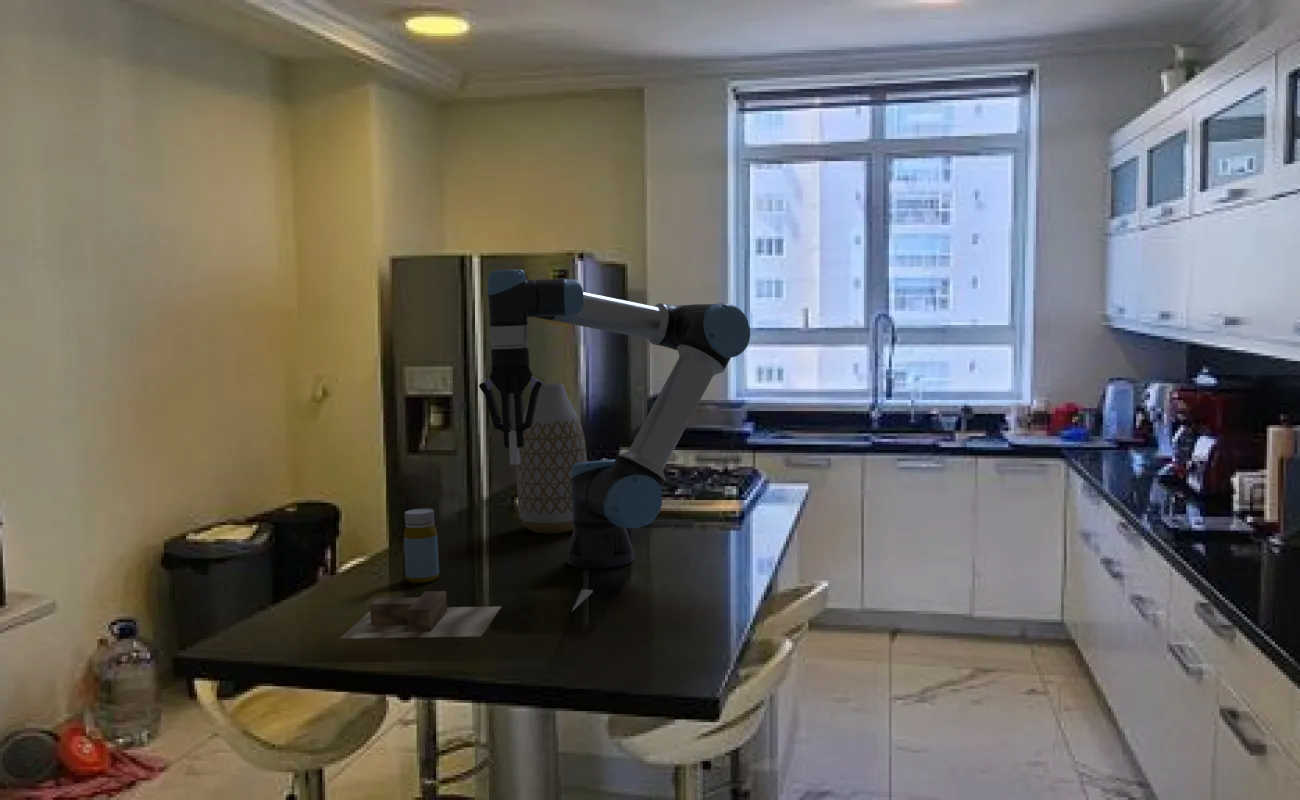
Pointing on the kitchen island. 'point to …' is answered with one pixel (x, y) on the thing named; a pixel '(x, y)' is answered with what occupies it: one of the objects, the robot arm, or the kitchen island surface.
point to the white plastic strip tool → (582, 597)
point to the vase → (549, 463)
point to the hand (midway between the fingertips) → (515, 463)
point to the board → (450, 625)
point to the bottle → (421, 546)
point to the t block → (410, 611)
